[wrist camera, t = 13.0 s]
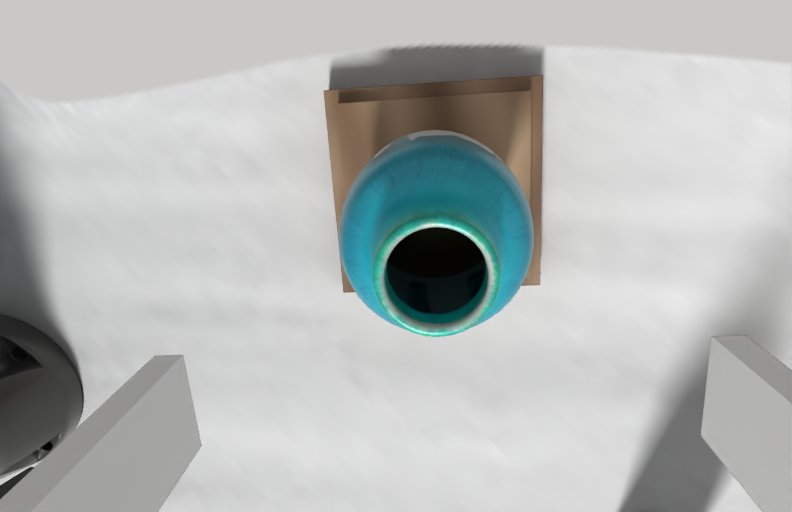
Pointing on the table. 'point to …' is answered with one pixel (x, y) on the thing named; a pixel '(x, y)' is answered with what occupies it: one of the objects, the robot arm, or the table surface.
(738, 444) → the robot arm
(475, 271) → the vase
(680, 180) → the table surface
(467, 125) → the pedestal
